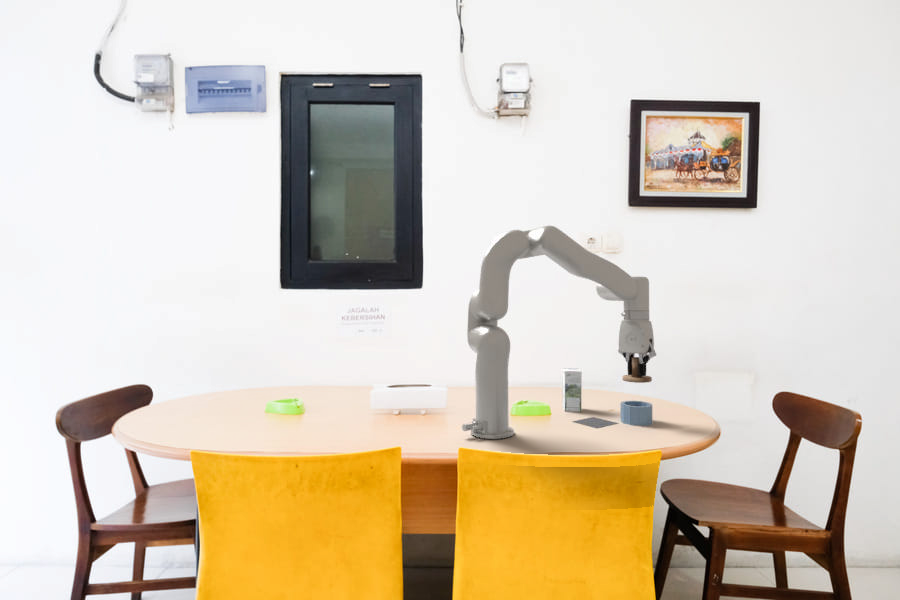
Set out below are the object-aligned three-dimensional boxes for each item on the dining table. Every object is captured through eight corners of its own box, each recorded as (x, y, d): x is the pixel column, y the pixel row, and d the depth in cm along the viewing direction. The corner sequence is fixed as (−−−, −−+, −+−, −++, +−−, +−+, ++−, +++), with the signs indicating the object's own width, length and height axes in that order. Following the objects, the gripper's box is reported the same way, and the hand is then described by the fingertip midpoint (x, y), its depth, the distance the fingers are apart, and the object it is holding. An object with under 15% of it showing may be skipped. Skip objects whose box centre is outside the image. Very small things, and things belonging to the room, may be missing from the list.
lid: (640, 383, 159) (640, 360, 159) (616, 379, 166) (616, 357, 166) (657, 380, 164) (657, 357, 164) (634, 376, 171) (633, 355, 171)
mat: (597, 429, 158) (597, 428, 158) (571, 422, 166) (571, 421, 166) (618, 424, 164) (618, 423, 164) (593, 418, 172) (593, 416, 172)
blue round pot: (639, 428, 159) (639, 408, 159) (614, 422, 167) (614, 403, 166) (658, 423, 164) (658, 404, 164) (633, 417, 172) (633, 399, 172)
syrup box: (579, 409, 185) (579, 367, 184) (581, 413, 179) (581, 370, 179) (562, 408, 185) (562, 367, 185) (564, 412, 179) (564, 370, 179)
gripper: (607, 315, 169) (607, 373, 170) (652, 317, 156) (652, 380, 156) (622, 314, 174) (622, 370, 174) (667, 316, 160) (667, 377, 160)
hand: (636, 374), depth 165 cm, fingers closed on lid, 3 cm apart
